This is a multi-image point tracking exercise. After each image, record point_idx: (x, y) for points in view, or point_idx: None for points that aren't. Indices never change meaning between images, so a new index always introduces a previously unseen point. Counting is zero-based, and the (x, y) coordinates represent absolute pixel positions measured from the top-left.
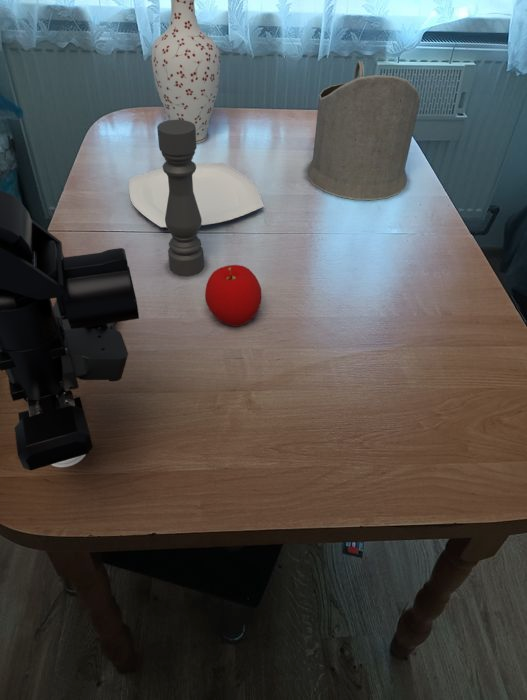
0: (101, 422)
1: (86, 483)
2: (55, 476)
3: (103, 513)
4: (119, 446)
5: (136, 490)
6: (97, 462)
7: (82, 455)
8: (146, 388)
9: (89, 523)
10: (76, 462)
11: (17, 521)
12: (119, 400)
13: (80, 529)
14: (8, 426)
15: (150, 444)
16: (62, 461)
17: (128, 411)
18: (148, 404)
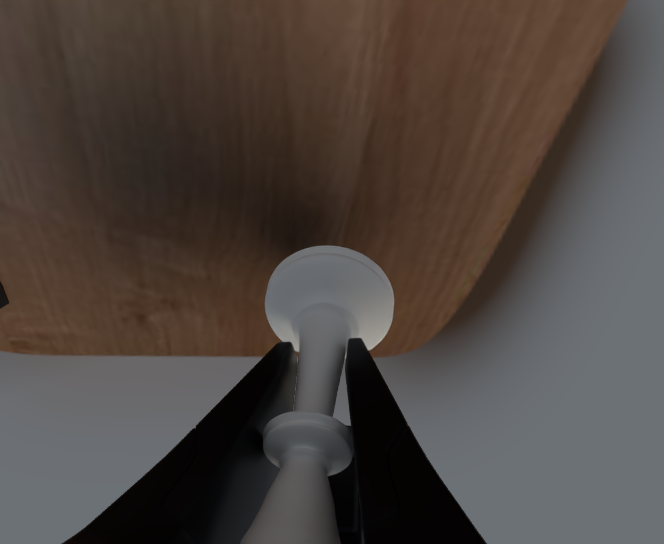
0: (190, 180)
1: (372, 227)
2: None
3: (472, 194)
4: (275, 136)
5: (440, 97)
6: (317, 199)
7: (372, 268)
8: (36, 14)
9: (483, 227)
10: (389, 283)
11: (416, 343)
12: (106, 122)
13: (488, 245)
14: (201, 352)
15: (281, 26)
16: (389, 325)
17: (146, 95)
18: (109, 14)
